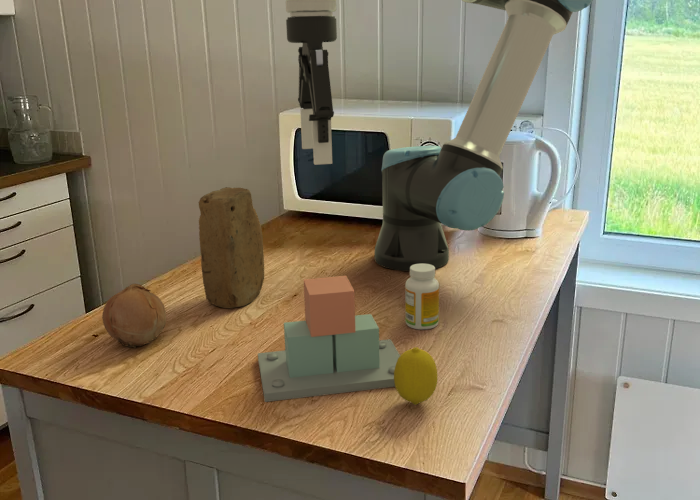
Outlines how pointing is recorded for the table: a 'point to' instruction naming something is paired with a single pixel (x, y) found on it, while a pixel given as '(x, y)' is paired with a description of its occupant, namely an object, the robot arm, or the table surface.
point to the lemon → (415, 375)
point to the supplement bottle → (422, 297)
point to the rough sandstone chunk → (230, 247)
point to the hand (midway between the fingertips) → (316, 155)
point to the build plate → (326, 381)
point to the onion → (134, 316)
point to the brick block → (329, 306)
